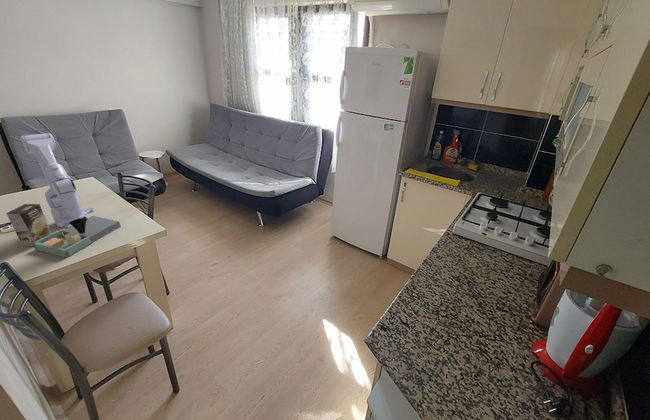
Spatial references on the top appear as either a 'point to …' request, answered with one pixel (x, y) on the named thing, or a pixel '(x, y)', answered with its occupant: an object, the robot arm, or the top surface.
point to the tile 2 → (72, 238)
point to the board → (95, 228)
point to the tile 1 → (55, 242)
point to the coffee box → (29, 223)
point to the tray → (63, 250)
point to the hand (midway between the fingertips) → (82, 232)
